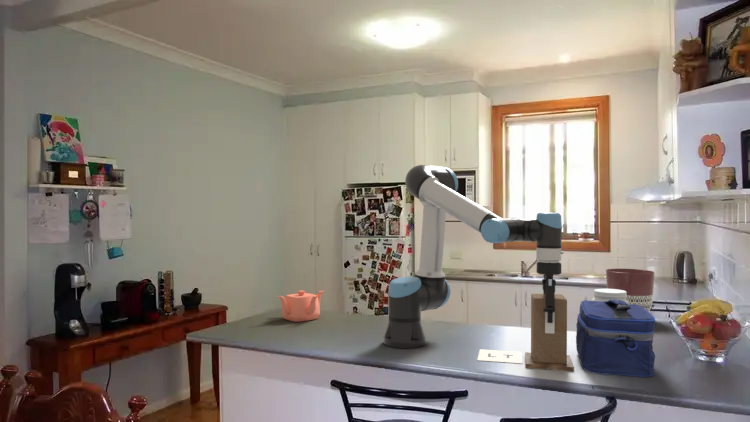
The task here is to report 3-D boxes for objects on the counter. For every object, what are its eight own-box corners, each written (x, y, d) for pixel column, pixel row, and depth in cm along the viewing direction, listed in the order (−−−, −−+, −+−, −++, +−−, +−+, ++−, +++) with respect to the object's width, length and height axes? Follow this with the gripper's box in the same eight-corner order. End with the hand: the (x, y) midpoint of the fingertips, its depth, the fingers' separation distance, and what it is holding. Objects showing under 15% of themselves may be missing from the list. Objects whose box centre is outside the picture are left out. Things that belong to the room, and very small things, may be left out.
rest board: (525, 367, 169) (525, 363, 169) (525, 355, 183) (525, 352, 183) (574, 371, 166) (574, 367, 166) (569, 358, 179) (569, 355, 179)
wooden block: (566, 364, 168) (567, 299, 168) (532, 362, 170) (533, 298, 170) (562, 356, 178) (563, 294, 178) (530, 354, 180) (531, 293, 180)
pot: (316, 323, 233) (317, 294, 233) (276, 322, 234) (276, 293, 234) (324, 315, 251) (324, 288, 251) (286, 314, 252) (286, 287, 252)
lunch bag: (663, 382, 155) (664, 310, 155) (584, 377, 160) (585, 306, 160) (638, 354, 185) (639, 293, 185) (572, 350, 190) (573, 291, 190)
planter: (658, 324, 232) (658, 274, 232) (608, 322, 238) (608, 272, 238) (649, 316, 251) (649, 269, 251) (603, 313, 257) (603, 267, 256)
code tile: (477, 360, 177) (477, 359, 177) (480, 349, 190) (480, 349, 190) (522, 363, 173) (522, 363, 173) (521, 352, 187) (521, 352, 187)
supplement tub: (594, 334, 215) (594, 287, 215) (630, 338, 208) (630, 289, 208) (588, 341, 203) (589, 291, 203) (626, 345, 197) (627, 294, 197)
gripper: (564, 265, 161) (564, 338, 161) (558, 258, 185) (558, 321, 185) (538, 264, 163) (537, 336, 163) (535, 257, 187) (534, 320, 187)
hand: (548, 328), depth 174 cm, fingers open, 13 cm apart
